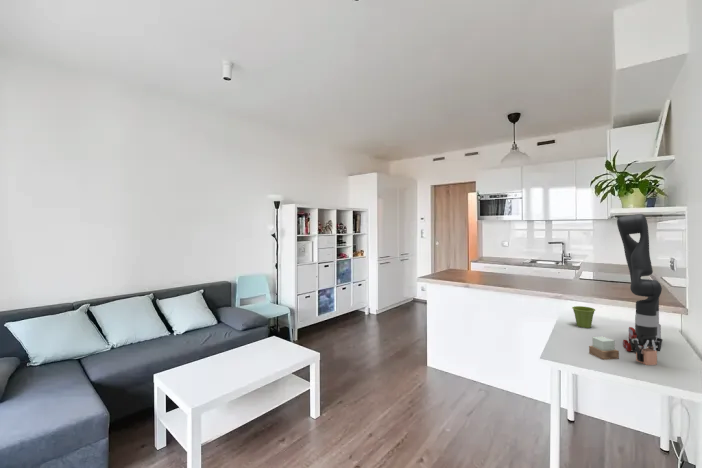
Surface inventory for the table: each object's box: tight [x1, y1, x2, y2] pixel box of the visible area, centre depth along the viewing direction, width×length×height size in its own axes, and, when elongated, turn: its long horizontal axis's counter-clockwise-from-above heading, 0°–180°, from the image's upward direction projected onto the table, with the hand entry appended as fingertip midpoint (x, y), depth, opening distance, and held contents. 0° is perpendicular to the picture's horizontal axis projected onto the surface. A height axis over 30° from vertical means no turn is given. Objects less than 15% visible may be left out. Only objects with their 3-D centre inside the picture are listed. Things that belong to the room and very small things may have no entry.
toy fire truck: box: [622, 326, 643, 352], centre depth 165 cm, size 7×12×10 cm, turn 152°
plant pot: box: [571, 305, 596, 329], centre depth 204 cm, size 12×12×11 cm
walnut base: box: [588, 345, 620, 361], centre depth 159 cm, size 8×8×4 cm
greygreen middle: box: [592, 336, 616, 351], centre depth 159 cm, size 6×6×4 cm
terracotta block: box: [635, 347, 658, 366], centre depth 150 cm, size 5×5×6 cm
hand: (646, 360), depth 150 cm, fingers closed on terracotta block, 5 cm apart
